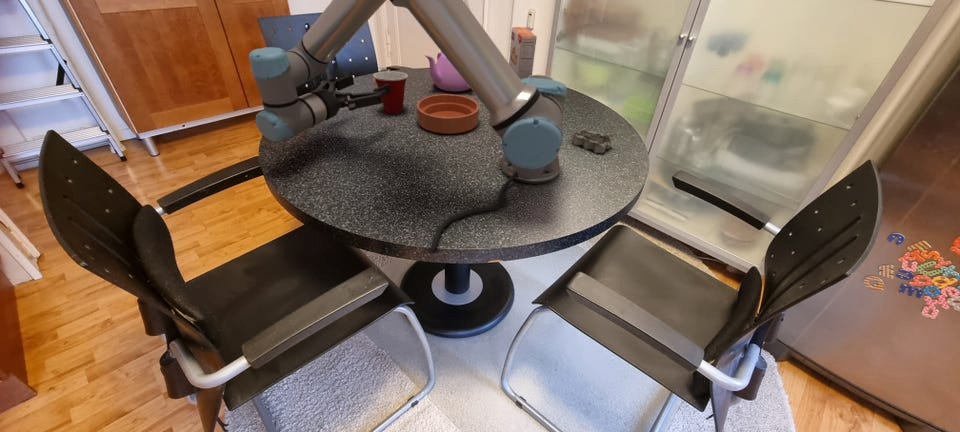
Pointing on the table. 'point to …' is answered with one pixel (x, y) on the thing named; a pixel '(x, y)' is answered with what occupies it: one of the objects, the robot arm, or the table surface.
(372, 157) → the table surface
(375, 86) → the garlic bulb
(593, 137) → the egg carton
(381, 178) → the table surface
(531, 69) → the cracker box
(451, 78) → the teapot
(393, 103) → the plastic cup
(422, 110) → the bowl
